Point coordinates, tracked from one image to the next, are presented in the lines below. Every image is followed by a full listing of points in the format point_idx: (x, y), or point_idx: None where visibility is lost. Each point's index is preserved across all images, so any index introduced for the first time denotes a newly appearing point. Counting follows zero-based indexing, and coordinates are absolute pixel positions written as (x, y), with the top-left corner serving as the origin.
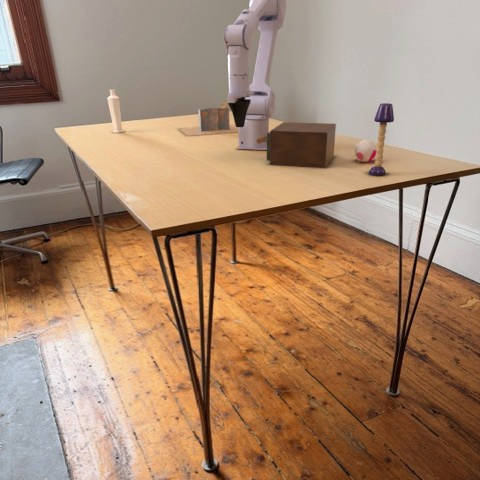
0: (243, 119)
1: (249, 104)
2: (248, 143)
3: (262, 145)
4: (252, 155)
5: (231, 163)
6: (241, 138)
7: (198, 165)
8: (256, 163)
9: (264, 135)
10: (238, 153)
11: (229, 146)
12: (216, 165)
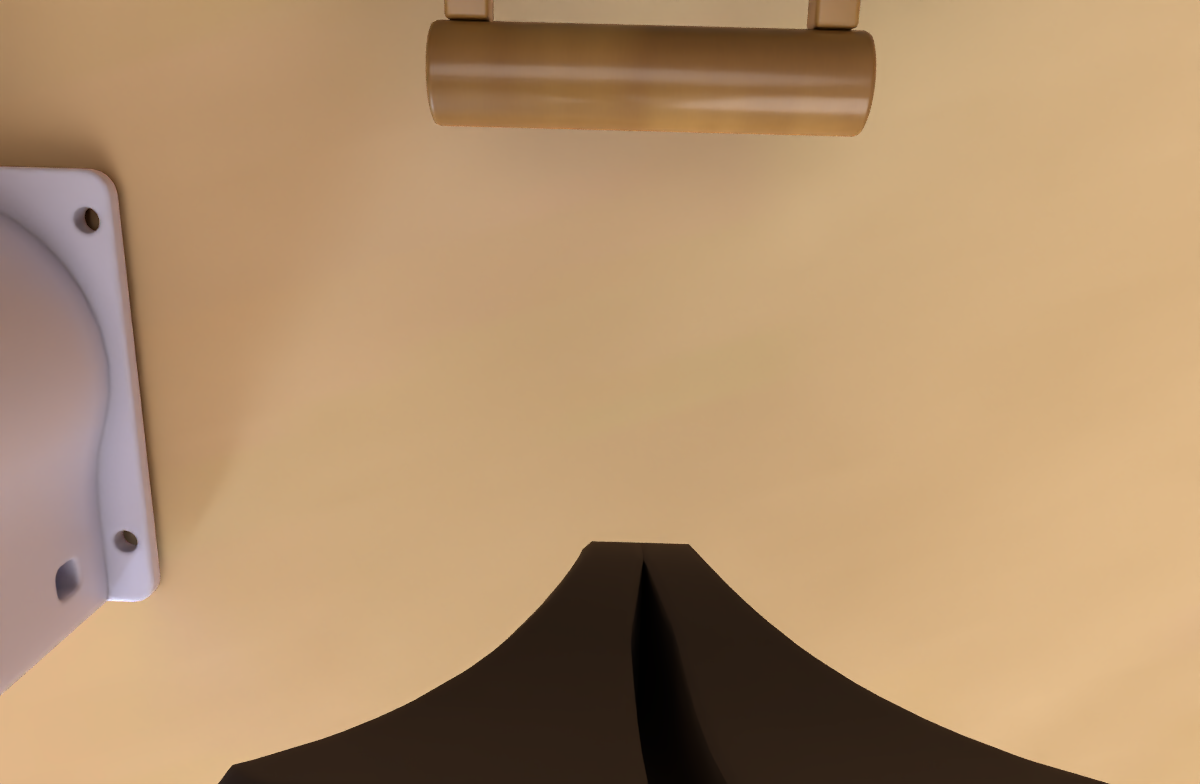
0: (738, 599)
1: (307, 747)
2: (66, 477)
3: (27, 250)
4: (473, 288)
5: (996, 432)
6: (30, 618)
7: (1130, 769)
8: (965, 90)
9: (492, 50)
10: (396, 512)
11: (11, 742)
12: (1119, 577)
